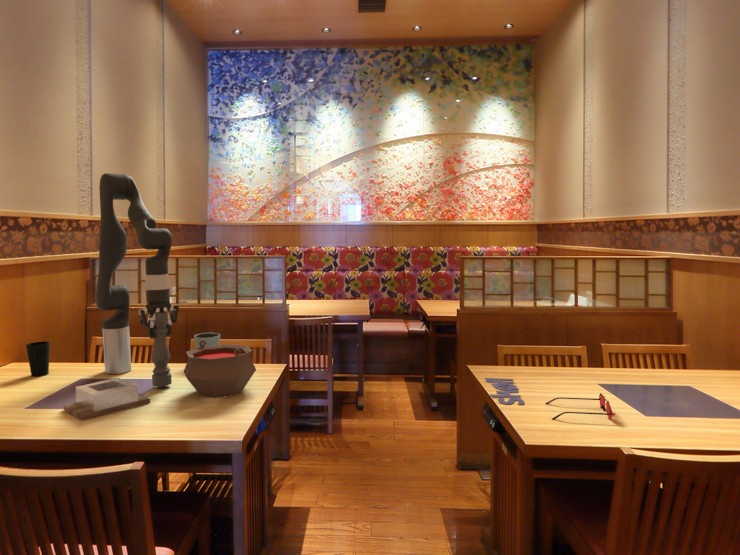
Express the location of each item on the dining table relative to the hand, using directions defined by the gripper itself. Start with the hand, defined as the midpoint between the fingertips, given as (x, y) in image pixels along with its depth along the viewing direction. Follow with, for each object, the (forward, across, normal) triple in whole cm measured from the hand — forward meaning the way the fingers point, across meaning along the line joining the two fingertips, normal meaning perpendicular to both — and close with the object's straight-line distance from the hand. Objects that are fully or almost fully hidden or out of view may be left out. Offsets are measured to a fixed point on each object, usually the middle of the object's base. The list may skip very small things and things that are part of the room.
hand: (159, 336), depth 183 cm
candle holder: (+17, 0, 0) cm, 17 cm away
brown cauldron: (+18, -10, +20) cm, 29 cm away
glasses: (+17, -63, +119) cm, 136 cm away
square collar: (+16, +21, +6) cm, 27 cm away
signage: (+17, -69, +93) cm, 117 cm away
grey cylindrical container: (+18, -28, -16) cm, 37 cm away
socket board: (+18, +21, +6) cm, 28 cm away
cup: (+18, +21, -53) cm, 60 cm away
